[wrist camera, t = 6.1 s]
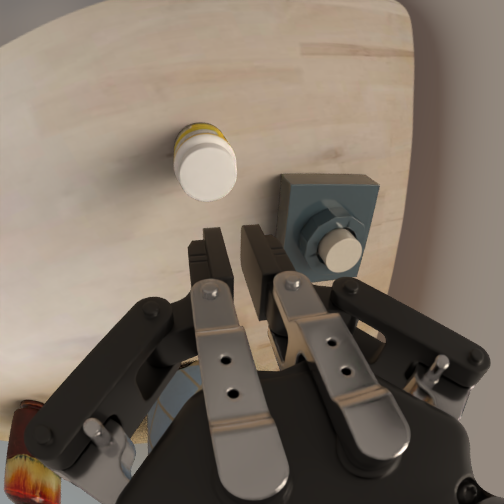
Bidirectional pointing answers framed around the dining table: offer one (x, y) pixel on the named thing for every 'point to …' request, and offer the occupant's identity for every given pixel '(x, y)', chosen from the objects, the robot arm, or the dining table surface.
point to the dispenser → (323, 217)
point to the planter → (172, 401)
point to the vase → (28, 465)
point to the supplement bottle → (204, 162)
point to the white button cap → (339, 250)
